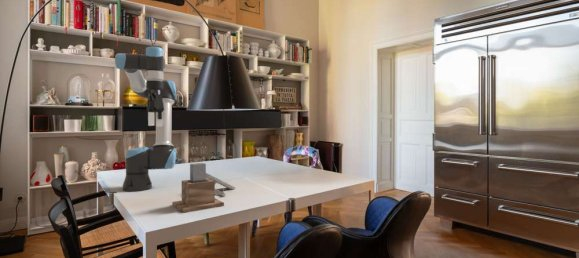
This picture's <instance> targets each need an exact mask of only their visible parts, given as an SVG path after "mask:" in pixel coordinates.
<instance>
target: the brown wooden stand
mask: <svg viewBox="0 0 579 258" xmlns="http://www.w3.org/2000/svg"><path fill="white" fill-rule="evenodd" d="M215 187H216V184H215V181H213V180H210V179H208V178H206V181H205V182H197V183H191V182H190V179H183V180H181V200H175V201H172V207H174V208H176V209H177V210H179V212H181V213H183V214H185V213H191V212H196V211H201V210H208V209H214V208H220V207H225V202H223V201H222V200H219V199H218V198H216V194H215V189H216V188H215Z"/></svg>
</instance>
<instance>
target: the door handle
mask: <svg viewBox="0 0 579 258" xmlns="http://www.w3.org/2000/svg"><path fill="white" fill-rule="evenodd" d="M206 178H208V179H210V180H213V181H215V185H216V184H218V185H220V186H223V187H225V188H226V189H230V190H233V191H234V190H235V189H236V186H233V185H231V184H230V183H227V181H226V182H225V181H224V180H222V179H219V178H218V177H215V176H214V175H212V174H209V173H208V172H206ZM215 195H218V196H221V197H224V198H225V197H226V195H227V192H226V191H222V190H218V189H216V188H215Z"/></svg>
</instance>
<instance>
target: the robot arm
mask: <svg viewBox="0 0 579 258" xmlns="http://www.w3.org/2000/svg"><path fill="white" fill-rule="evenodd" d="M114 65H115V68H116V69H119V70H123V71H124V72H125V75H126V77H127V78H128V81H129V87H130V89H131V91H132V92H133V93H134V94H136V95H137V96H139V97H141V98H143V99H146V100H147V104H146V111H147V121H148V122H147V123H148V124H147V126H149V127H152V126H155V142H154V144H153V145H152V148H149V147H148V146H140V147H133V148H129V149H127V150H126V151H125V178H124V180H123V183H122V191H125V192H140V191H141V192H142V191H145V190H150V189H152V188H153V183H152V180H151V177H150V174H149V171H151V170H152V171H153V170H169V169H173V168H174V167H175V165H176V158H177V151H178V150H177V148H175V145H174V144H173V143H172V128H173V127H172V124H173V123H172V122H173V121H172V118H173V117H172V114H173V113H172V112H173V111H172V110H173V109H172V108H173V105H174V104H175V102H176V100H178V94H177V88H176V83H175V81H173V80H167V79H166V80H165V79H164V78H165V77H164V69H165V68H166V61H165V59H164V49H163V48H162V47H158V46H147V47H146V48H145V54H140V53H139V54H136V53H125V52H124V53H116V54H115V56H114ZM143 71H145V73H144V74H143ZM144 75H145V77H144Z"/></svg>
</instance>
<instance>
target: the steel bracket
mask: <svg viewBox="0 0 579 258" xmlns="http://www.w3.org/2000/svg"><path fill="white" fill-rule="evenodd" d="M206 173H207V164H206V163H205V162H197V163H196V162H194V163H189V174H190V175H189V180H190V182H191V183H197V182H205V181H206Z"/></svg>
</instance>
